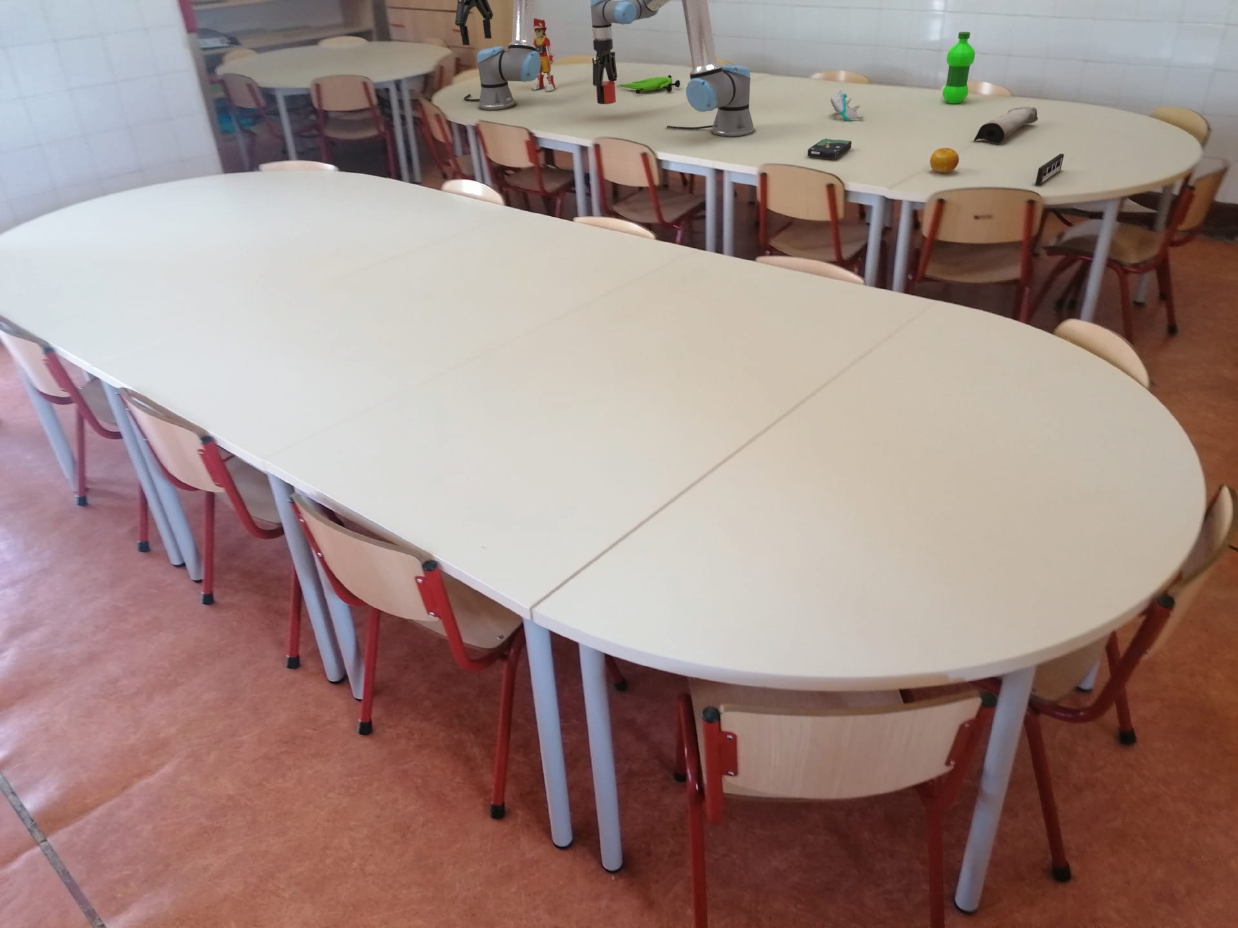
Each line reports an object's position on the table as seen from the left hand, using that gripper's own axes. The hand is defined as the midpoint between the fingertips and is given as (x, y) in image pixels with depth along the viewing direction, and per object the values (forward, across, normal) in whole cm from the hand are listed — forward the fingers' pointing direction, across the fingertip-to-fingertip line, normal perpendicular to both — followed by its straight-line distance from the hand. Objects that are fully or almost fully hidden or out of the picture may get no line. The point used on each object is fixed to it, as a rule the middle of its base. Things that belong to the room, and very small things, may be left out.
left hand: (477, 42), depth 342 cm
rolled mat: (+32, +56, -187) cm, 198 cm away
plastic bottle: (+32, +95, -160) cm, 188 cm away
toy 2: (+32, +79, -28) cm, 90 cm away
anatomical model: (+32, +60, -127) cm, 144 cm away
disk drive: (+32, +12, -138) cm, 142 cm away
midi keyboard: (+32, +10, -208) cm, 211 cm away
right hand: (+25, +28, -39) cm, 54 cm away
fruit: (+32, +5, -178) cm, 181 cm away
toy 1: (+32, +64, +17) cm, 74 cm away
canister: (+25, +28, -39) cm, 54 cm away
